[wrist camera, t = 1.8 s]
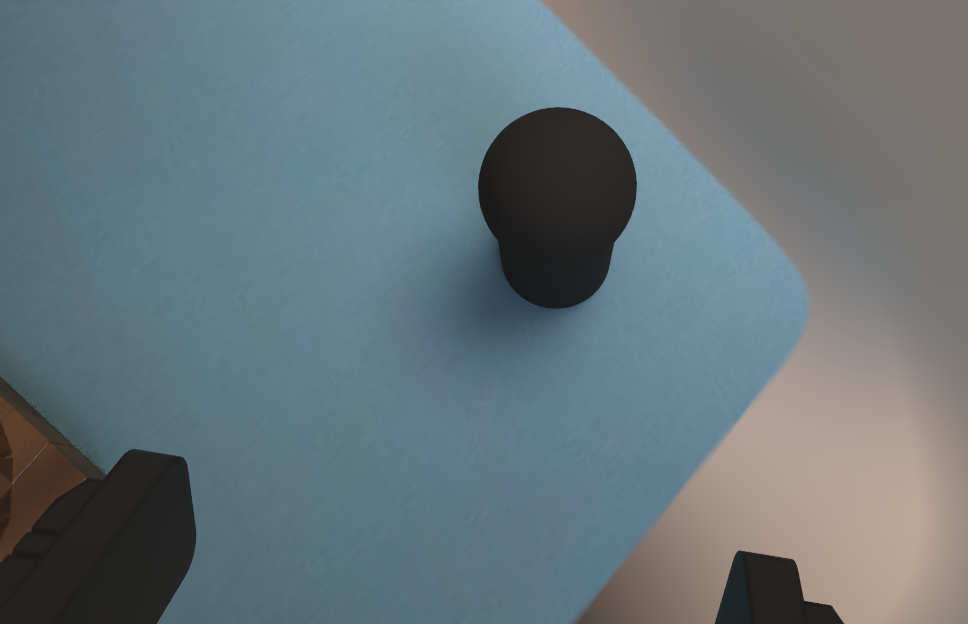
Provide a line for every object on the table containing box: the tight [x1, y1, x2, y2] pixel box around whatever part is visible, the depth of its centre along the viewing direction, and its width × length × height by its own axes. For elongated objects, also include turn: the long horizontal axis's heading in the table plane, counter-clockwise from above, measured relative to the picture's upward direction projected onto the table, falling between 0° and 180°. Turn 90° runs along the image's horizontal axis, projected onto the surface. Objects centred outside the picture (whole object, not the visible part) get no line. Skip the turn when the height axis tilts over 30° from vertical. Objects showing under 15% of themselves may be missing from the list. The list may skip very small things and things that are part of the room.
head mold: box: [478, 107, 637, 308], centre depth 31 cm, size 5×5×10 cm
